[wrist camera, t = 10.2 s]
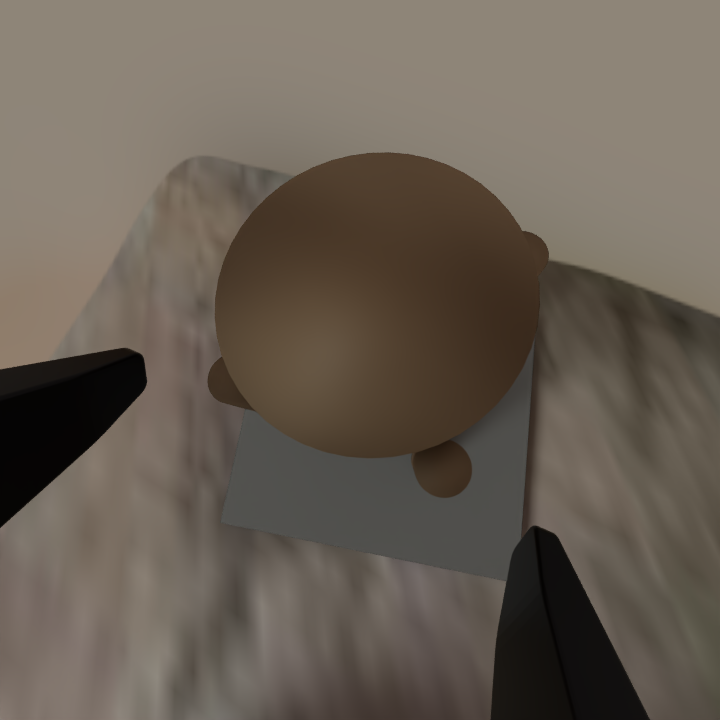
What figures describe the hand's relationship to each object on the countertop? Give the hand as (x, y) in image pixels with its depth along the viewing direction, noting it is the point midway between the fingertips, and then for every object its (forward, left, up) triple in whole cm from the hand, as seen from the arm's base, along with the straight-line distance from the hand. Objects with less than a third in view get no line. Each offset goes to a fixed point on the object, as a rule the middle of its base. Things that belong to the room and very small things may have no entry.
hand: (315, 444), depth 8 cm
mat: (+1, 0, -12) cm, 12 cm away
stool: (+3, -1, -11) cm, 12 cm away
